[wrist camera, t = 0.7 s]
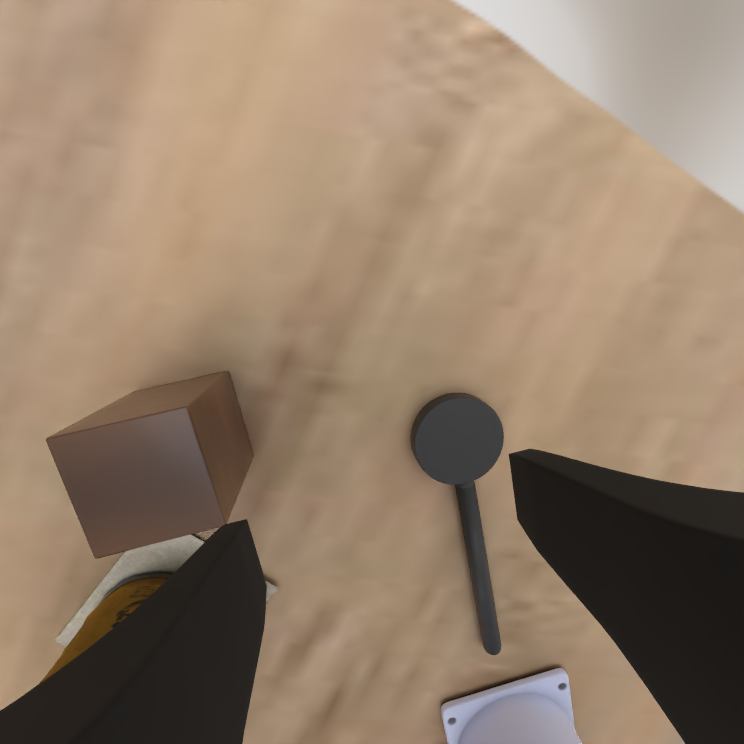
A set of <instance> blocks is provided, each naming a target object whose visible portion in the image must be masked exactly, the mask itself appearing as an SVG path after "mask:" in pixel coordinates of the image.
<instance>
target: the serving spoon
mask: <svg viewBox="0 0 744 744" xmlns="http://www.w3.org/2000/svg"><path fill="white" fill-rule="evenodd" d="M503 438H504V435H503V428H502V424H501V421H500V419H499V417H498V415H497V414H496V412H495V411H494V410H493V409H492V408H491V407H490V406H489V405H487V404H486V403H485V402H483V401H482V400H480V399H478V398H476V397H475V396H472V395H469V394H465V393H451V394H446V395H443V396H440V397H438V398H436V399H434V400H433V401H431V402H430V403H428V404H427V405H426V406H425V407H424V408H423V409H422V410H421V412H420V413H419V414H418V416H417V418H416V419H415V422H414V424H413V427H412V431H411V447H412V450H413V453H414V456H415V458H416V459H417V461H418V463H419V465H420V466H421V468H422V469H423V470H424V471H425V473H427V474H428V475H429V476H430V477H432V478H433V479H435V480H437V481H439V482H442V483H446V484H455V487H456V493H457V498H458V504H459V510H460V515H461V521H462V527H463V532H464V538H465V544H466V549H467V555H468V561H469V567H470V572H471V578H472V584H473V589H474V595H475V601H476V606H477V612H478V618H479V623H480V629H481V635H482V640H483V646H484V649H485V650H486V652H487V653H489V654H491V655H497V654H498V653H499V652H500V650H501V641H500V635H499V629H498V623H497V616H496V610H495V604H494V598H493V592H492V586H491V580H490V574H489V568H488V561H487V555H486V549H485V543H484V537H483V531H482V525H481V519H480V513H479V507H478V500H477V494H476V488H475V482H474V480H476V479H478V478H480V477H481V476H483V475H484V474H485V473H487V472H488V471H489V470H490V469H491V468H492V466H493V465H494V464H495V463H496V461H497V459H498V457H499V455H500V453H501V450H502V446H503Z"/></svg>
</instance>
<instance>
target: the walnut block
mask: <svg viewBox="0 0 744 744" xmlns="http://www.w3.org/2000/svg"><path fill="white" fill-rule="evenodd" d="M46 442H47V444H48V446H49V449H50V451H51V454H52V456H53V459H54V461H55V463H56V466H57V468H58V471H59V473H60V475H61V478H62V480H63V483H64V485H65V487H66V490H67V492H68V495H69V497H70V500H71V502H72V504H73V507H74V509H75V512H76V514H77V516H78V519H79V521H80V524H81V526H82V528H83V531H84V533H85V536H86V538H87V540H88V543H89V545H90V548H91V550H92V553H93V555H94V557H95V559H97V558H101V557H105V556H109V555H112V554H116V553H120V552H124V551H128V550H132V549H136V548H140V547H144V546H148V545H151V544H155V543H159V542H163V541H167V540H171V539H175V538H179V537H183V536H187V535H190V534H194V533H198V532H202V531H206V530H210V529H214V528H218V527H222V526H223V525H225V524H227V521H228V519H229V516H230V514H231V511H232V509H233V506H234V504H235V501H236V499H237V496H238V494H239V491H240V489H241V486H242V484H243V481H244V479H245V477H246V474H247V472H248V469H249V467H250V464H251V462H252V459H253V457H254V455H253V451H252V448H251V445H250V441H249V438H248V434H247V431H246V428H245V424H244V421H243V417H242V414H241V411H240V407H239V404H238V400H237V397H236V393H235V390H234V387H233V383H232V380H231V376H230V373H229V371H224V372H220V373H215V374H211V375H206V376H202V377H197V378H193V379H189V380H184V381H180V382H175V383H171V384H166V385H162V386H157V387H153V388H148V389H144V390H140V391H135V392H132V393H130V394H128V395H127V396H125V397H123V398H121V399H119V400H117V401H115V402H113V403H112V404H110V405H108V406H106V407H104V408H102V409H100V410H99V411H97V412H95V413H93V414H91V415H89V416H87V417H85V418H84V419H82V420H80V421H78V422H76V423H74V424H72V425H70V426H69V427H67V428H65V429H63V430H61V431H59V432H57V433H56V434H54V435H52V436H50V437H48V438H47V439H46Z"/></svg>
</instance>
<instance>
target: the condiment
mask: <svg viewBox="0 0 744 744" xmlns="http://www.w3.org/2000/svg"><path fill="white" fill-rule="evenodd" d="M203 543H204V541H202V540H199V539H198V538H196V537H194V536H192V535H191V534H190V535H187V536H183V537H179V538H175V539H171V540H167V541H163V542H159V543H155V544H151V545H148V546H144V547H140V548H136V549H132V550H128V551H126V552H125V553H124V554H123V555H122V556H121V558H120V559H119V560H118V561H117V563H116V564H115V565H114V566H113V568H112V569H111V570H110V572H109V573H108V574H107V575H106V577H105V578H104V579H103V580H102V582H101V583H100V584H99V585H98V587H97V588H96V589H95V591H94V592H93V593H92V594H91V596H90V597H89V598H88V599H87V601H86V602H85V603H84V604H83V606H82V607H81V608H80V609H79V611H78V612H77V613H76V615H75V616H74V617H73V618H72V620H71V621H70V622H69V623H68V625H67V626H66V627H65V628H64V630H63V631H62V632H61V634H60V635H59V636H58V637H57V639H56V640H55V642H57V643H60V644H63V645H64V646H66V648H65V649H64V651H63V654H62V655H61V657H60V658H59V659H58V660H57V662H56V663H55V665H54V666H53V667H52V669H51V670H50V671H49V672H48V674H47V675H46V676H45V678H44V679H43V680H42V681H41V682H43V681H44V680H46V679H47V678H48V677H50V676H51V675H53V674H54V673H55V672H57V671H58V670H60V669H61V668H62V667H64V666H65V665H66V664H68V663H69V662H71V661H72V660H73V659H75V658H76V657H78V656H79V655H80V654H81V653H83V652H84V651H85V650H87V649H88V648H89V647H90V646H92V645H93V644H94V643H95V642H97V641H98V640H99V639H100V638H102V637H103V636H104V635H105V634H107V633H108V632H109V631H110V630H112V629H113V628H114V627H115V626H116V625H118V624H119V623H120V622H121V621H122V620H123V619H125V618H126V617H127V616H128V615H129V614H130V613H132V612H133V611H134V610H135V609H136V608H137V607H138V606H139V605H140V604H141V603H142V602H144V601H145V600H146V599H147V598H148V597H149V596H150V595H151V594H152V593H153V592H154V591H155V590H156V589H158V588H159V587H160V586H161V585H162V584H163V583H164V582H165V581H166V580H167V579H168V578H169V577H170V576H171V575H172V574H173V573H174V572H175V571H176V570H177V569H178V568H179V567H180V566H181V565H182V564H183V563H184V562H185V561H186V560H187V559H188V558H189V557H190V556H191V555H192V554H193V553H194V552H195V551H196V550H197V549H198V548H199V547H200V546H201V545H202V544H203ZM266 585H267V593H266V603H267V602H268V601H269V599H270V598H271V597H272V596H273V595H274V593H275V592H276V591H277V590H278V588H276V587H275V586H274V585H272V584H270V583H269V582H267V581H266ZM41 682H40V683H41Z"/></svg>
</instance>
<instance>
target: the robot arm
mask: <svg viewBox="0 0 744 744" xmlns="http://www.w3.org/2000/svg"><path fill="white" fill-rule="evenodd" d="M509 459H510V466H511V474H512V481H513V489H514V496H515V504H516V512H517V519H518V521H519V523H520V524H521V526H522V528H523V529H524V531H525V532H526V534H527V535H528V537H529V539H530V540H531V541H532V543H533V544H534V546H535V547H536V549H537V550H538V552H539V553H540V554H541V555H542V557H543V558H544V559H545V560H546V561H547V563H548V564H549V565H550V566H551V567H552V568H553V570H554V571H555V572H556V573H557V574H558V575H559V577H560V578H561V579H562V580H563V581H564V582H565V584H566V585H567V586H568V587H569V588H570V589H571V591H572V592H573V593H574V594H575V595H576V596H577V598H578V599H579V600H580V601H581V602H582V603H583V604H584V606H585V607H586V608H587V609H588V610H589V611H590V613H591V614H592V615H593V616H594V617H595V618H596V620H597V621H598V622H599V623H600V624H601V626H602V627H603V628H604V629H605V631H606V632H607V633H608V634H609V636H610V637H611V638H612V639H613V641H614V642H615V643H616V645H617V646H618V647H619V649H620V650H621V652H622V653H623V654H624V656H625V657H626V659H627V660H628V661H629V663H630V664H631V666H632V667H633V668H634V670H635V671H636V673H637V674H638V675H639V677H640V678H641V680H642V681H643V682H644V684H645V685H646V687H647V688H648V689H649V691H650V692H651V694H652V695H653V697H654V698H655V700H656V701H657V703H658V704H659V706H660V707H661V708H662V710H663V711H664V713H665V714H666V716H667V717H668V719H669V720H670V722H671V723H672V724H673V726H674V727H675V729H676V730H677V732H678V733H679V735H680V736H681V738H682V739H683V741H684V742H685V744H744V493H742V492H732V491H723V490H715V489H707V488H700V487H694V486H688V485H682V484H676V483H670V482H664V481H659V480H654V479H649V478H645V477H640V476H636V475H632V474H627V473H623V472H619V471H615V470H611V469H607V468H603V467H599V466H596V465H592V464H588V463H585V462H581V461H578V460H574V459H570V458H567V457H563V456H560V455H556V454H552V453H548V452H544V451H540V450H534V449H527V450H523V451H519V452H515V453H511V454H509ZM266 593H267V585H266V581H265V578H264V575H263V571H262V568H261V565H260V561H259V558H258V555H257V551H256V548H255V545H254V541H253V538H252V535H251V531H250V528H249V525H248V521H247V519H246V520H242V521H238V522H233V523H229V524H225V525H223V526H222V527H220V528H219V529H218V530H217V531H216V532H215V533H214V534H213V535H211V536H210V537H209V538H208V539H207V540H206V541H205V542H204V543H203V544H202V545H201V546H200V547H199V548H198V549H197V550H196V551H195V552H194V553H193V554H192V555H191V556H190V557H189V558H188V559H187V560H186V561H185V562H184V563H183V564H182V565H181V566H180V567H179V568H178V569H177V570H176V571H175V572H174V573H173V574H172V575H171V576H170V577H169V578H168V579H167V580H166V581H165V582H164V583H163V584H162V585H161V586H160V587H159V588H158V589H156V590H155V591H154V592H153V593H152V594H151V595H150V596H149V597H148V598H147V599H146V600H145V601H144V602H142V603H141V604H140V605H139V606H138V607H137V608H136V609H135V610H134V611H133V612H132V613H130V614H129V615H128V616H127V617H126V618H125V619H123V620H122V621H121V622H120V623H119V624H118V625H116V626H115V627H114V628H113V629H112V630H110V631H109V632H108V633H107V634H105V635H104V636H103V637H102V638H100V639H99V640H98V641H97V642H95V643H94V644H93V645H92V646H90V647H89V648H88V649H87V650H85V651H84V652H83V653H81V654H80V655H79V656H78V657H76V658H75V659H73V660H72V661H71V662H69V663H68V664H66V665H65V666H64V667H62V668H61V669H60V670H58V671H57V672H55V673H54V674H53V675H51V676H50V677H48V678H47V679H46V680H44V681H43V682H41V683H40V684H39V685H37V686H36V687H34V688H33V689H32V690H30V691H29V692H28V693H26V694H25V695H23V696H22V697H20V698H19V699H17V700H16V701H15V702H13V703H12V704H10V705H8V706H7V707H5V708H4V709H2V710H1V711H0V744H242V742H243V736H244V729H245V724H246V719H247V713H248V708H249V703H250V698H251V693H252V688H253V683H254V678H255V672H256V667H257V662H258V657H259V652H260V646H261V641H262V636H263V630H264V623H265V610H266ZM441 715H442V720H443V724H444V729H445V734H446V738H447V743H448V744H583V743H582V742H581V740H580V738H579V737H578V735H577V733H576V731H575V727H574V719H573V711H572V702H571V694H570V686H569V678H568V675H567V673H566V672H565V670H564V669H562V668H556V669H553V670H550V671H546V672H543V673H540V674H537V675H533V676H530V677H527V678H524V679H520V680H517V681H514V682H511V683H507V684H504V685H501V686H498V687H494V688H491V689H488V690H484V691H481V692H478V693H475V694H471V695H468V696H465V697H462V698H458V699H455V700H452V701H449V702H446V703H444V704H443V705H442V707H441Z"/></svg>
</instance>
